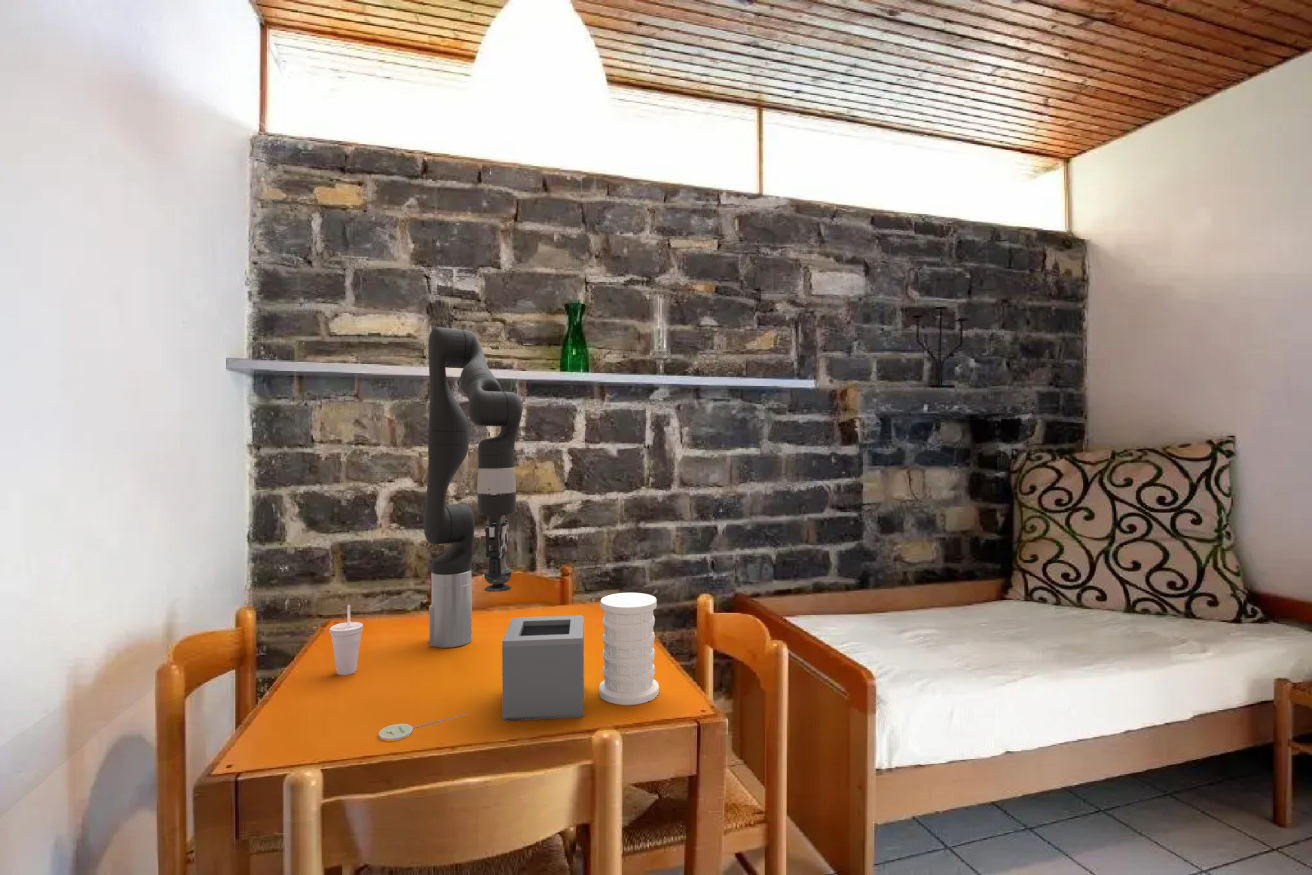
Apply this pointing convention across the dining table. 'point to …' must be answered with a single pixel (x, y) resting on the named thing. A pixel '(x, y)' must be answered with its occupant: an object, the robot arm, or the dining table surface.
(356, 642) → the smoothie
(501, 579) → the salt shaker
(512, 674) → the box
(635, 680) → the decorative container
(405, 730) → the sign
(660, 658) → the dining table surface
